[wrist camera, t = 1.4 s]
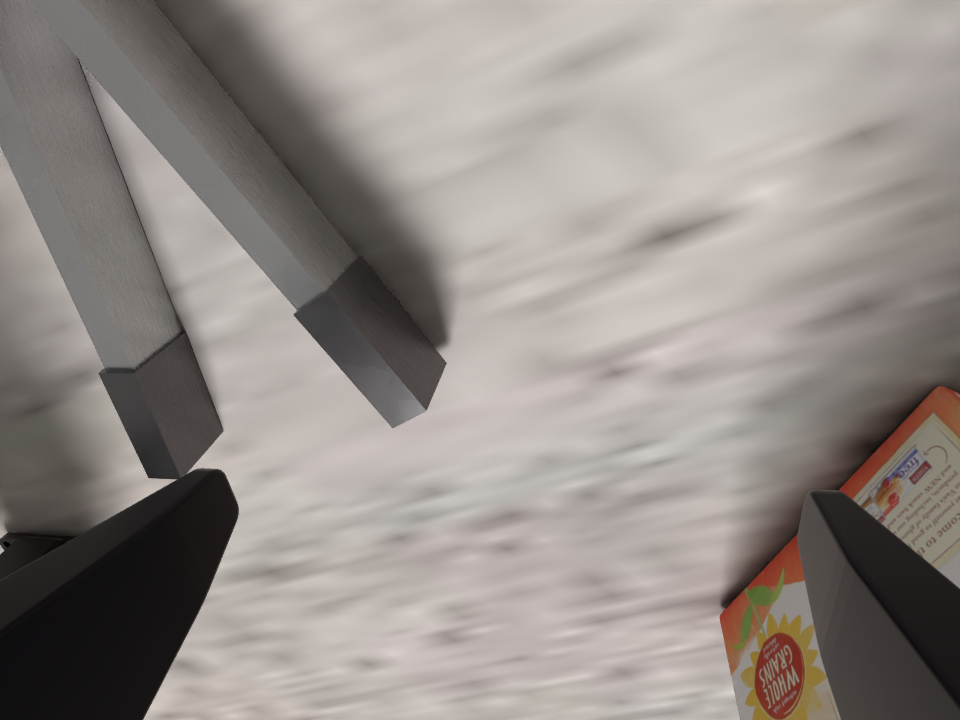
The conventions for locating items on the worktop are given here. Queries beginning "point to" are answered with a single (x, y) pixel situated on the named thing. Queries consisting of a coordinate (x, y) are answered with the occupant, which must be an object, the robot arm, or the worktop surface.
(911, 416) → the cracker box
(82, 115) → the tongs fixed
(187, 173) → the tongs arm
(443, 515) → the worktop surface
